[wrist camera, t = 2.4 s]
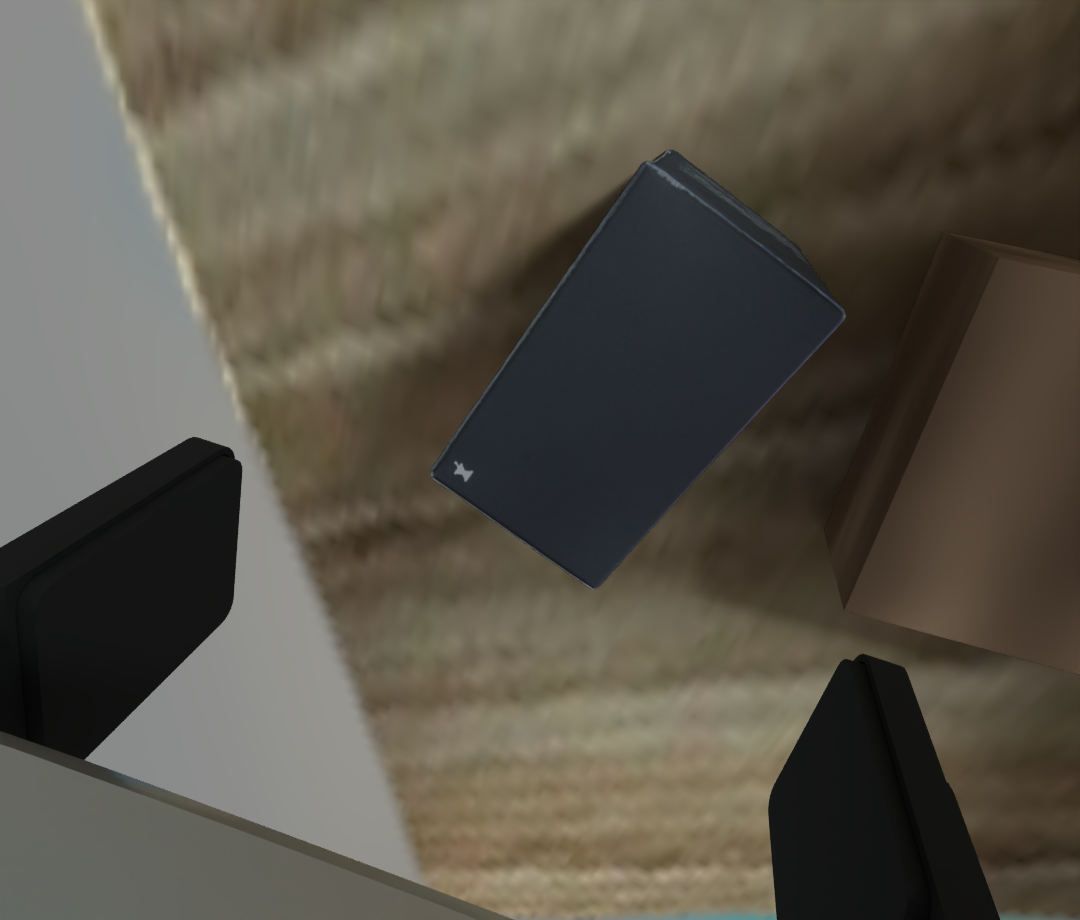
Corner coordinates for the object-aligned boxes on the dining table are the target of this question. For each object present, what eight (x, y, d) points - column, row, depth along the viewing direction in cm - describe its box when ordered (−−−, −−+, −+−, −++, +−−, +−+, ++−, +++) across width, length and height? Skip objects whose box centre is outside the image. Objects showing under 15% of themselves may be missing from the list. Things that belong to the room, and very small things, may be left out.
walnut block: (1325, 309, 24) (1496, 361, 19) (1132, 606, 29) (1222, 713, 24) (941, 230, 26) (998, 257, 20) (823, 526, 31) (844, 610, 25)
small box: (634, 464, 31) (595, 606, 22) (508, 371, 31) (413, 477, 22) (813, 253, 27) (863, 322, 17) (667, 141, 26) (635, 148, 17)
